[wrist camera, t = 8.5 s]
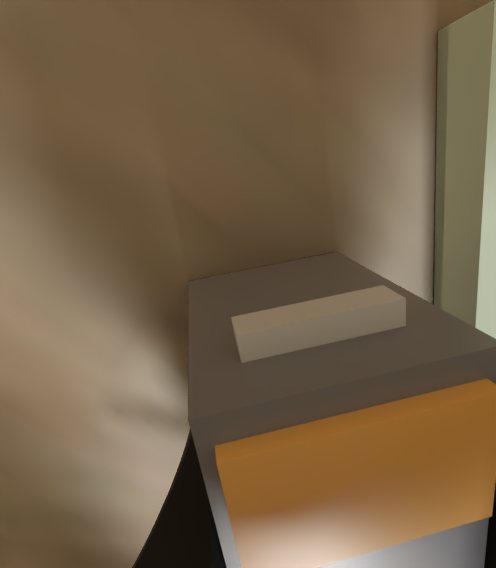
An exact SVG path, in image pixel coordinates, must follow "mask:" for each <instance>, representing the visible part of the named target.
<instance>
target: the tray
mask: <svg viewBox="0 0 496 568" xmlns="http://www.w3.org/2000/svg"><path fill="white" fill-rule="evenodd" d="M434 305H435V306H437V307H438V308H440V309H442V310H444V311H446V312H448V313H449V314H451V315H453V316H455V317H457V318H459V319H460V320H462V321H464V322H466V323H468V324H470V325H471V326H473V327H475V328H477V329H479V330H480V331H482V332H484V333H486V334H488V335H490V336H491V337H493V338H495V339H496V0H492V1H490V2H489V3H487V4H485V5H483V6H481V7H480V8H478V9H476V10H474V11H473V12H471V13H469V14H467V15H465V16H464V17H462V18H460V19H458V20H456V21H455V22H453V23H451V24H449V25H448V26H446V27H444V28H442V29H440V30H439V31H438V69H437V133H436V198H435V263H434Z"/></svg>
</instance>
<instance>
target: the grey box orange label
mask: <svg viewBox="0 0 496 568" xmlns="http://www.w3.org/2000/svg"><path fill="white" fill-rule="evenodd" d="M188 421H189V425H190V429H191V433H192V436H193V440H194V444H195V448H196V452H197V456H198V459H199V463H200V467H201V471H202V475H203V479H204V483H205V486H206V490H207V494H208V498H209V502H210V506H211V509H212V513H213V517H214V521H215V525H216V529H217V532H218V536H219V540H220V544H221V548H222V552H223V556H224V559H225V563H226V567H227V568H484V562H485V552H486V542H487V532H488V521H489V517H492V512H493V502H494V492H495V482H496V339H495V338H493V337H491V336H490V335H488V334H486V333H484V332H482V331H480V330H479V329H477V328H475V327H473V326H471V325H470V324H468V323H466V322H464V321H462V320H460V319H459V318H457V317H455V316H453V315H451V314H449V313H448V312H446V311H444V310H442V309H440V308H438V307H437V306H435V305H433V304H431V303H429V302H427V301H426V300H424V299H422V298H420V297H418V296H416V295H415V294H413V293H411V292H409V291H407V290H405V289H404V288H402V287H400V286H398V285H396V284H394V283H393V282H391V281H389V280H387V279H385V278H383V277H382V276H380V275H378V274H376V273H374V272H372V271H371V270H369V269H367V268H365V267H363V266H362V265H360V264H358V263H356V262H354V261H352V260H351V259H349V258H347V257H345V256H343V255H341V254H340V253H338V252H333V253H328V254H323V255H318V256H313V257H308V258H303V259H298V260H293V261H288V262H283V263H278V264H273V265H268V266H263V267H258V268H252V269H247V270H242V271H237V272H232V273H227V274H222V275H217V276H212V277H207V278H202V279H197V280H192V281H188Z"/></svg>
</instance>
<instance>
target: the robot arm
mask: <svg viewBox="0 0 496 568" xmlns="http://www.w3.org/2000/svg"><path fill="white" fill-rule="evenodd" d="M132 568H227V567H226V563H225V559H224V556H223V552H222V548H221V544H220V540H219V536H218V532H217V529H216V525H215V521H214V517H213V513H212V509H211V506H210V502H209V498H208V494H207V490H206V486H205V483H204V479H203V475H202V471H201V467H200V463H199V459H198V456H197V452H196V448H195V444H194V440H193V436H192V433H191V429H190V431H189V435H188V439H187V442H186V446H185V449H184V452H183V455H182V458H181V461H180V464H179V467H178V469H177V472H176V475H175V477H174V480H173V482H172V485H171V488H170V490H169V493H168V495H167V497H166V499H165V502H164V504H163V506H162V508H161V511H160V513H159V515H158V517H157V520H156V522H155V524H154V526H153V528H152V530H151V532H150V535H149V537H148V539H147V541H146V543H145V545H144V546H143V548H142V550H141V552H140V554H139V556H138V558H137V560H136V562H135V564H134V565H133V567H132ZM484 568H496V482H495V492H494V502H493V512H492V517H489V521H488V532H487V542H486V552H485V562H484Z"/></svg>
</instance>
